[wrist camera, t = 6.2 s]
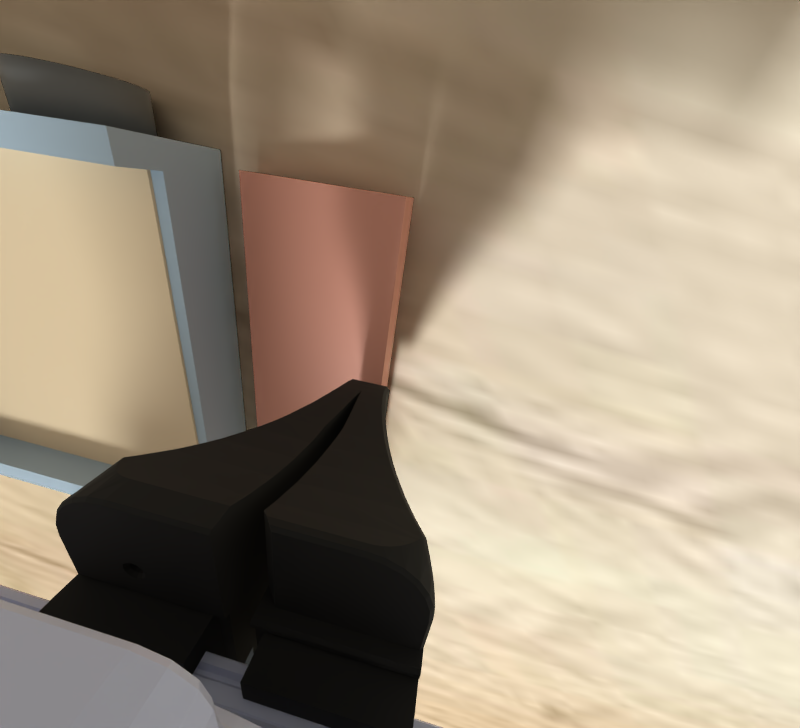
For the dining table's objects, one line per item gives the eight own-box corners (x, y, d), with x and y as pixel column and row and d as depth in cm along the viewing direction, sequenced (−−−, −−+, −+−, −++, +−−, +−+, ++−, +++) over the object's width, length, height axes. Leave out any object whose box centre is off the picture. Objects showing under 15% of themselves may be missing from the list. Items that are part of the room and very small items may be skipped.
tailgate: (271, 463, 17) (370, 500, 16) (260, 474, 16) (364, 513, 15) (256, 172, 11) (413, 197, 10) (239, 170, 10) (406, 197, 9)
